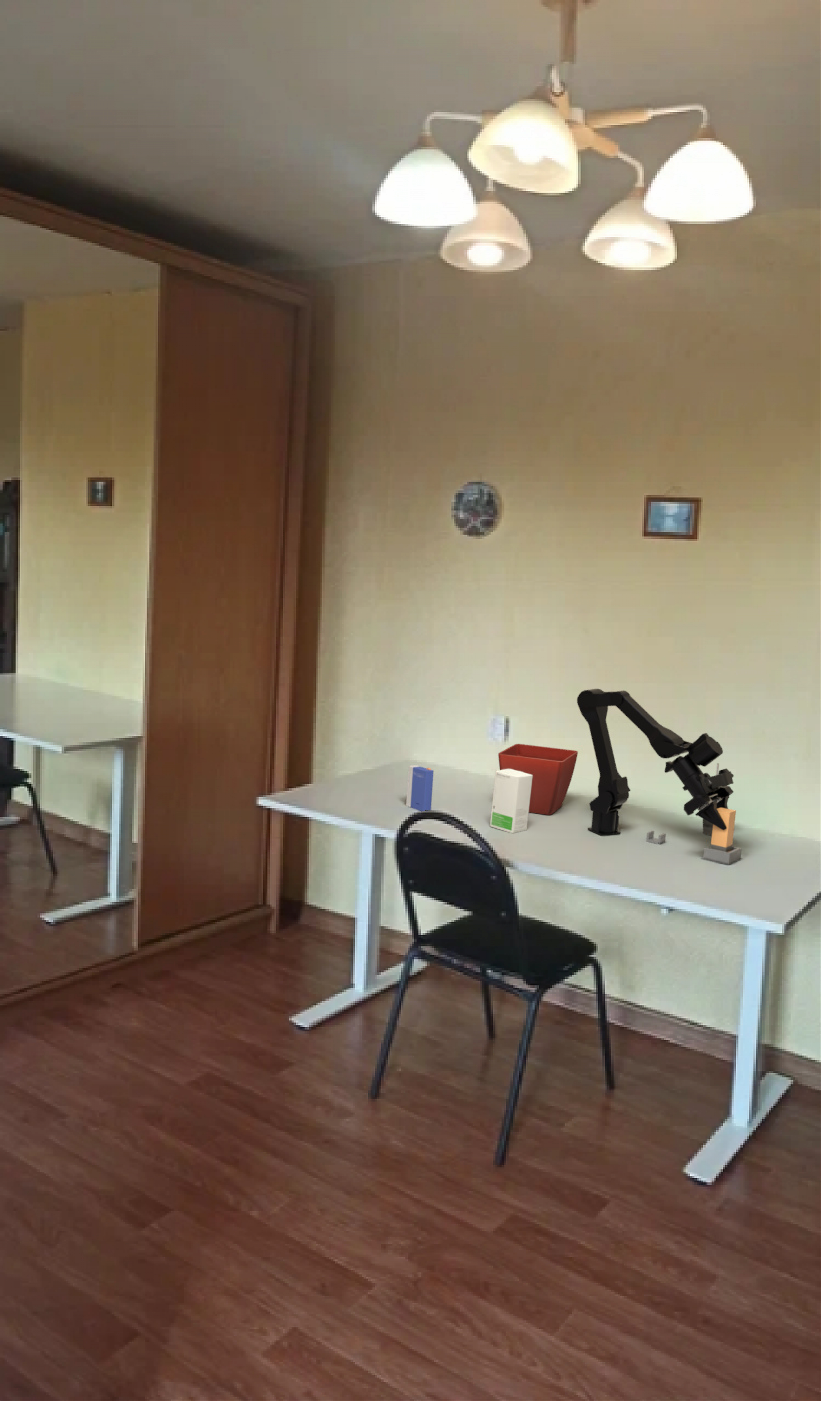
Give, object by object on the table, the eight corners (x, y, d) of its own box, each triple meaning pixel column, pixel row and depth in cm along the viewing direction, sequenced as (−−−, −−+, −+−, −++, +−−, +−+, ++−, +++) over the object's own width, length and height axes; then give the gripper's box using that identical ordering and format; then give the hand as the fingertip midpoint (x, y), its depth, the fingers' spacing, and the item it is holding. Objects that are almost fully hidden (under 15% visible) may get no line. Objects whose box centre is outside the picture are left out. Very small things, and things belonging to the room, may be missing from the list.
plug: (709, 852, 284) (714, 809, 283) (716, 849, 287) (720, 807, 286) (725, 855, 282) (729, 813, 280) (731, 852, 285) (736, 810, 283)
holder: (700, 858, 284) (701, 847, 284) (712, 853, 290) (713, 842, 289) (728, 865, 280) (729, 853, 279) (739, 859, 285) (741, 848, 285)
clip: (660, 844, 295) (660, 835, 295) (646, 841, 298) (647, 832, 297) (665, 842, 298) (665, 833, 297) (651, 839, 300) (652, 830, 300)
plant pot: (492, 810, 322) (497, 752, 320) (512, 797, 340) (516, 742, 337) (557, 820, 315) (562, 761, 313) (574, 806, 333) (579, 750, 330)
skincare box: (489, 827, 303) (493, 770, 300) (504, 823, 308) (508, 767, 305) (513, 833, 297) (518, 776, 295) (529, 830, 302) (533, 773, 300)
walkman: (431, 810, 317) (433, 769, 315) (423, 811, 315) (426, 770, 313) (413, 804, 323) (416, 763, 321) (405, 805, 321) (408, 764, 319)
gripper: (700, 763, 276) (738, 816, 271) (729, 754, 291) (766, 804, 286) (667, 788, 282) (704, 840, 277) (698, 778, 297) (733, 828, 292)
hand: (728, 827), depth 283 cm, fingers open, 4 cm apart
